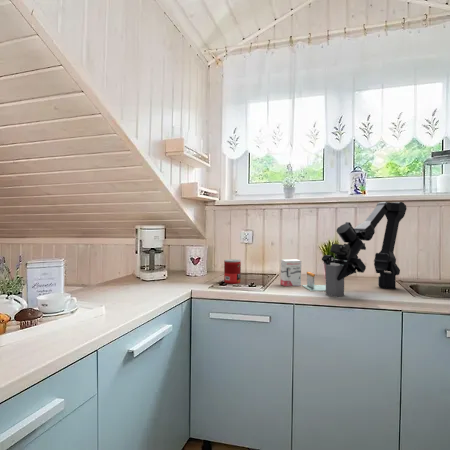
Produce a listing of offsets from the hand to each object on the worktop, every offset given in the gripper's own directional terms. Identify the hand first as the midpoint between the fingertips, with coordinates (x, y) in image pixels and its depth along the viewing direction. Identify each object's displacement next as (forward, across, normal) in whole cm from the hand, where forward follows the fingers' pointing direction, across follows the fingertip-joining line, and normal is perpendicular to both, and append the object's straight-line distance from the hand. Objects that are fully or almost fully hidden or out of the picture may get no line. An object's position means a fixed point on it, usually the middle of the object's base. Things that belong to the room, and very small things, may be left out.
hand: (332, 278), depth 141 cm
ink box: (+4, -26, +6) cm, 27 cm away
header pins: (+2, -16, +7) cm, 17 cm away
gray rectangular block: (+4, 0, +6) cm, 7 cm away
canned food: (+18, -46, -9) cm, 50 cm away
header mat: (0, -14, +10) cm, 17 cm away
